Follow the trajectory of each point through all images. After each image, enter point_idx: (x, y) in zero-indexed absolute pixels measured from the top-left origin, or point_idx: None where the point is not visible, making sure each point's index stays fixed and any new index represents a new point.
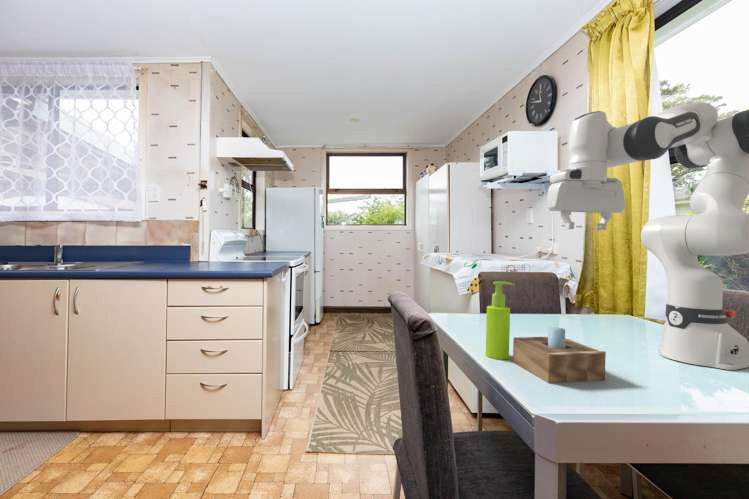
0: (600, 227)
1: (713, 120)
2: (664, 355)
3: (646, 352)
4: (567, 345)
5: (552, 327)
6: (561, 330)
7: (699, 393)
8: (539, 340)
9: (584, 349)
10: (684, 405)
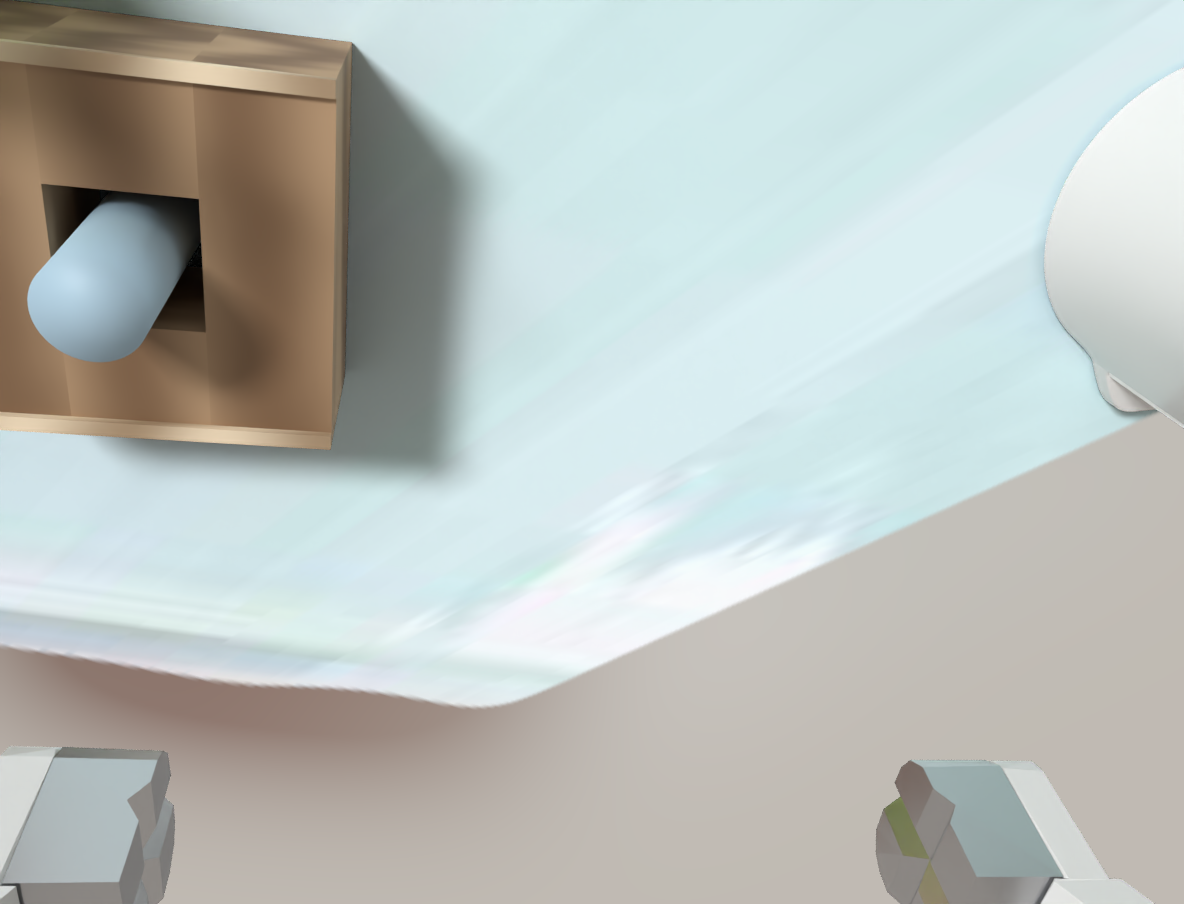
0: (900, 866)
1: None
2: (1081, 163)
3: (1110, 35)
4: (208, 276)
5: (82, 266)
6: (96, 355)
7: (622, 553)
8: (71, 121)
9: (258, 369)
10: (437, 614)
